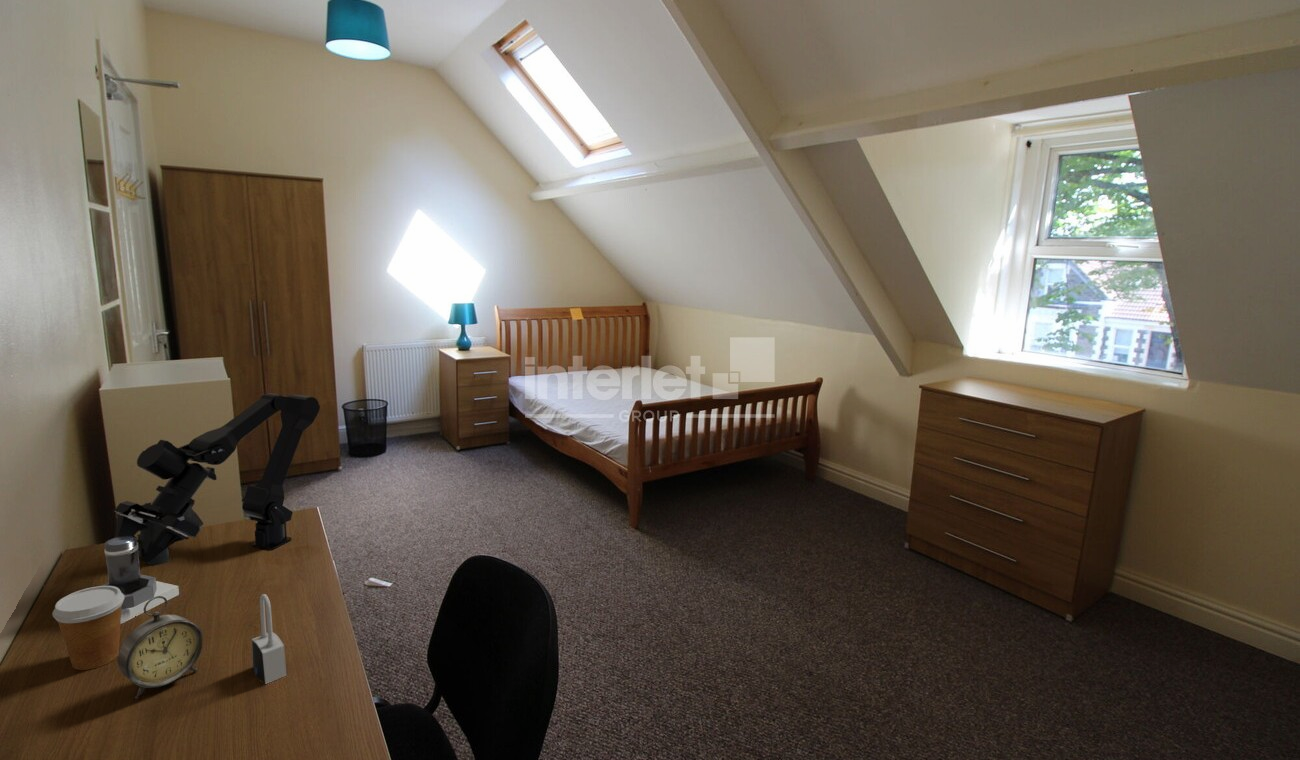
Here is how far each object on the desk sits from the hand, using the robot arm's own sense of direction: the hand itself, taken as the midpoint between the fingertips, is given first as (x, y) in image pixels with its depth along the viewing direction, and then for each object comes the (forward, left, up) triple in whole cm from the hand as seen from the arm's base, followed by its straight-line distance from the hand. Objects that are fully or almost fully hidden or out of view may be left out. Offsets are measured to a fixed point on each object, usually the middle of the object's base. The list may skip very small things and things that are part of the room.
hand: (129, 557), depth 128 cm
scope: (-16, -14, -10) cm, 24 cm away
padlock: (+8, +43, -11) cm, 45 cm away
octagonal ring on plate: (+1, 0, -10) cm, 10 cm away
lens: (+1, 0, -8) cm, 8 cm away
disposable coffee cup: (+15, +12, -10) cm, 22 cm away
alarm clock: (+16, +29, -11) cm, 35 cm away
